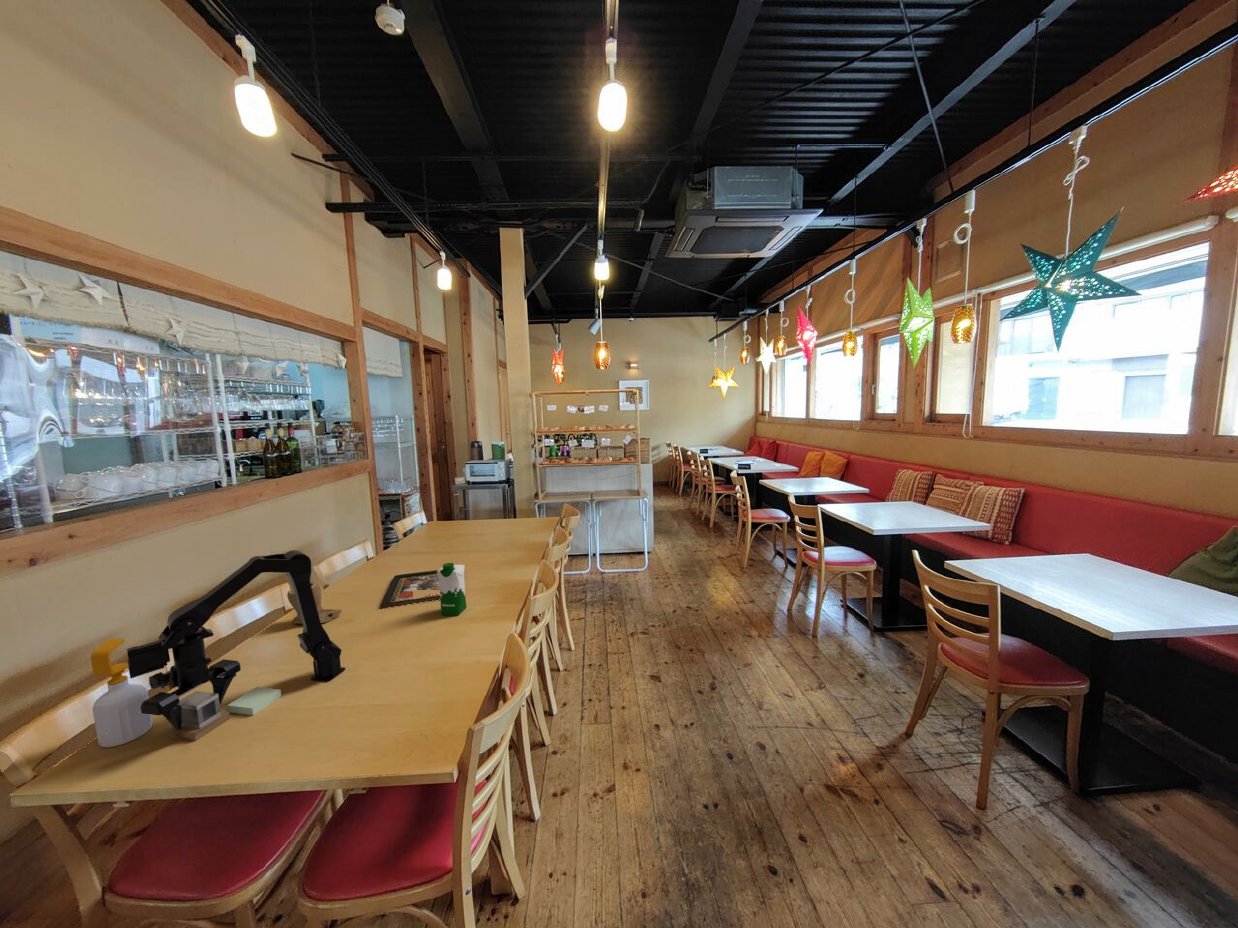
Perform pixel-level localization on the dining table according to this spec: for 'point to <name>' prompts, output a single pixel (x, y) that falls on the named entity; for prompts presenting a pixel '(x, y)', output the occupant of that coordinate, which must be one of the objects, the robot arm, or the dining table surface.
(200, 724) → the housing
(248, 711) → the stand green
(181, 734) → the stand walnut
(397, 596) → the religious icon
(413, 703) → the dining table surface
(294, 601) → the stone cup
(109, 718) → the soap bottle
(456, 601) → the milk carton
